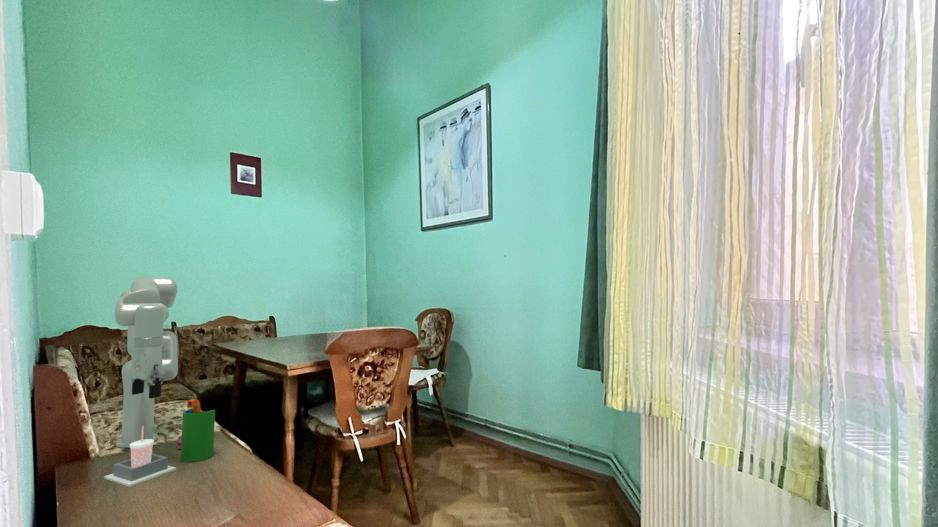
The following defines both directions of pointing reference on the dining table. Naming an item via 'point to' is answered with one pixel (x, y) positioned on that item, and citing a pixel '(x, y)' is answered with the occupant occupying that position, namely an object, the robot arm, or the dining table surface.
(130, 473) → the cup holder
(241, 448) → the dining table surface
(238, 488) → the dining table surface
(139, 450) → the beverage cup
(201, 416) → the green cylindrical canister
